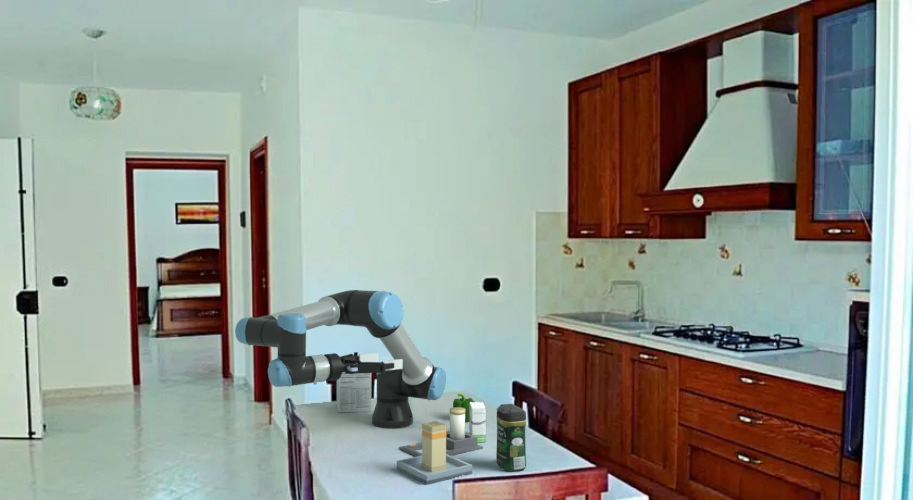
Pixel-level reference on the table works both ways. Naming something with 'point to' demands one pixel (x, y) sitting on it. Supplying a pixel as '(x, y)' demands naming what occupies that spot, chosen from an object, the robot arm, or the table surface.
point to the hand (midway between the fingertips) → (389, 360)
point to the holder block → (448, 446)
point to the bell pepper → (463, 405)
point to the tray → (452, 470)
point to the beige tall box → (434, 446)
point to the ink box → (478, 421)
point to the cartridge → (457, 423)
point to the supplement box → (354, 392)
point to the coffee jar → (511, 438)
